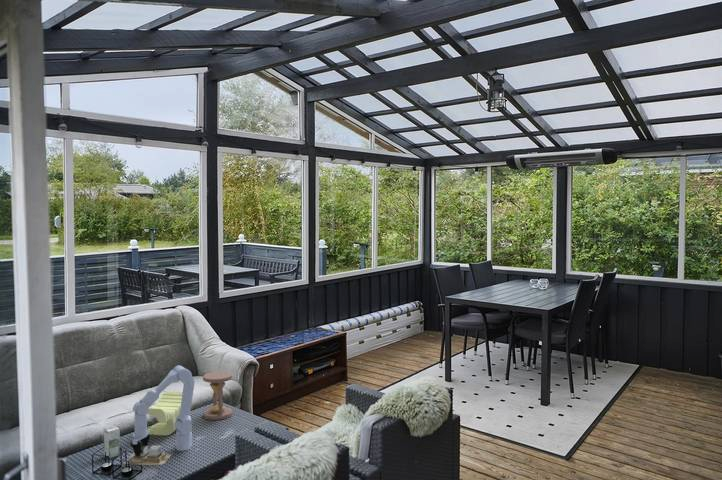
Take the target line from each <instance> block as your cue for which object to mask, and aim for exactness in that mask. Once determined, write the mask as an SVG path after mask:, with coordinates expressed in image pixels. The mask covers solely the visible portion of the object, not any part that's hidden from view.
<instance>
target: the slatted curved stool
mask: <svg viewBox="0 0 722 480" xmlns="http://www.w3.org/2000/svg"><path fill="white" fill-rule="evenodd" d="M182 394H183V391H165V390H163V391H162V395H160V397H159V398H158V399H157V402H156V403H154V404H153V406H151V407H149V410H148V412H147V415H150V416H153V417H154V418H156V420H157V422H156V423H155V424H154V425H152V426H151V427H150V428H148V429H149V433H148V434H151V435H152V434H154V435H155V436H156V435H157V436H169V435H171V434H172V433H174V432H176V431H177V429H175V426H174V424H175V422H176V420H177V416H178V415H179V414H180V408H181V401H182ZM154 435H153V436H154Z"/></svg>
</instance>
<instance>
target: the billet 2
mask: <svg viewBox="0 0 722 480" xmlns="http://www.w3.org/2000/svg"><path fill="white" fill-rule="evenodd" d="M148 452H149V458H159V457H160V456H161V452H162V445H151V446H150V447H149V448H148Z"/></svg>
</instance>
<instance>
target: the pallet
mask: <svg viewBox="0 0 722 480" xmlns="http://www.w3.org/2000/svg"><path fill="white" fill-rule="evenodd" d="M172 455H173V453H167V452H166V451H161V456H160V457H159V458H149V451H148V455H147V456H146V457H145V458H137V457H135V453H133V454H132V455H131V456H130V457H128V459H130V465H129V466H131V465H132V466H133V465H134V466H137V465H140V466H163V465H164V464H165V463H166V462H167V461H168V459H170V457H171V456H172ZM141 462H142V463H141ZM125 464H126V460H125V461H124V462H123V463H122V465H125Z"/></svg>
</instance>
